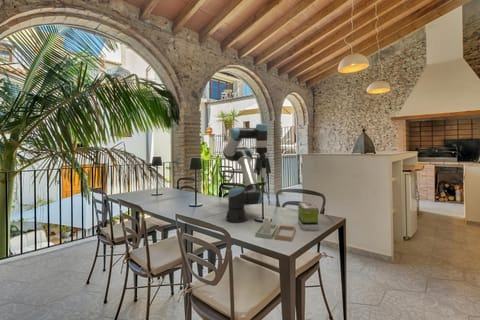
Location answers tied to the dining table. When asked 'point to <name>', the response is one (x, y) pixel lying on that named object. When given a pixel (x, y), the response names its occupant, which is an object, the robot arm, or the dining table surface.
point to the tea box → (308, 216)
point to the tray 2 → (287, 238)
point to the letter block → (267, 226)
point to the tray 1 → (265, 233)
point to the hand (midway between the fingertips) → (261, 178)
